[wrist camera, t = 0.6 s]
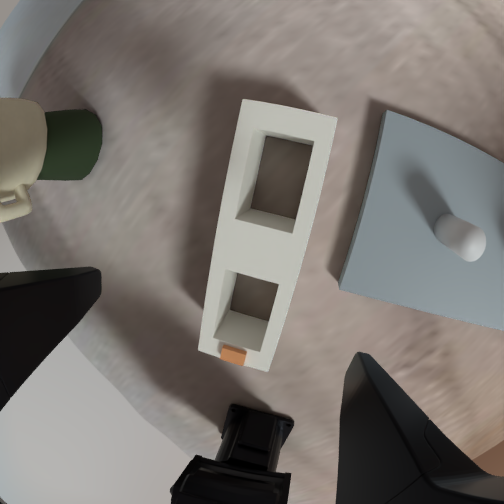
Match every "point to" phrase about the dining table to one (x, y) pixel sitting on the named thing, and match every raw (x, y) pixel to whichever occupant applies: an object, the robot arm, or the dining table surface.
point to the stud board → (430, 226)
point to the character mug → (42, 149)
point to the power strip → (260, 233)
